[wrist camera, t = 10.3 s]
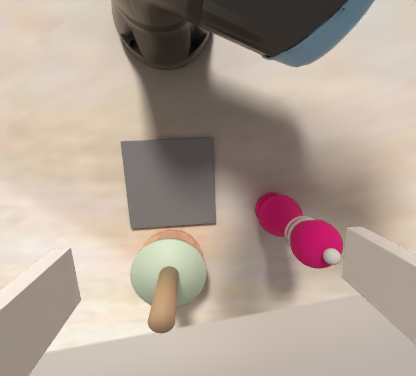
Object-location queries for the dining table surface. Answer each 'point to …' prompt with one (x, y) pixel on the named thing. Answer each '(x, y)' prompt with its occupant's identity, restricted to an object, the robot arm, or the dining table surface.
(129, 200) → the mat
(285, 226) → the pepper mill
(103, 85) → the dining table surface
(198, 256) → the plunger
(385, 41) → the dining table surface
